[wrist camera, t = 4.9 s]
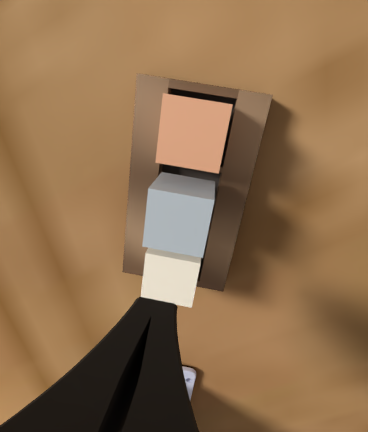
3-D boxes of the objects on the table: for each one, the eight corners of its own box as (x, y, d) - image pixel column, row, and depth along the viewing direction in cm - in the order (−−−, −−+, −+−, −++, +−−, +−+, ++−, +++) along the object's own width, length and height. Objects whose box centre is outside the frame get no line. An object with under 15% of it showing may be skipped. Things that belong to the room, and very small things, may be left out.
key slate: (205, 229, 15) (202, 257, 12) (155, 220, 15) (142, 246, 13) (215, 181, 14) (214, 200, 11) (161, 172, 14) (148, 188, 12)
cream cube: (195, 275, 18) (191, 307, 15) (152, 267, 18) (140, 297, 15) (203, 236, 16) (200, 263, 14) (157, 228, 17) (145, 253, 14)
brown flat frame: (222, 280, 19) (223, 291, 18) (128, 262, 19) (122, 271, 18) (268, 95, 14) (272, 94, 13) (143, 75, 14) (136, 73, 13)
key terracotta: (218, 160, 15) (218, 173, 12) (167, 151, 15) (155, 162, 12) (229, 104, 14) (232, 104, 11) (173, 95, 14) (162, 93, 11)
